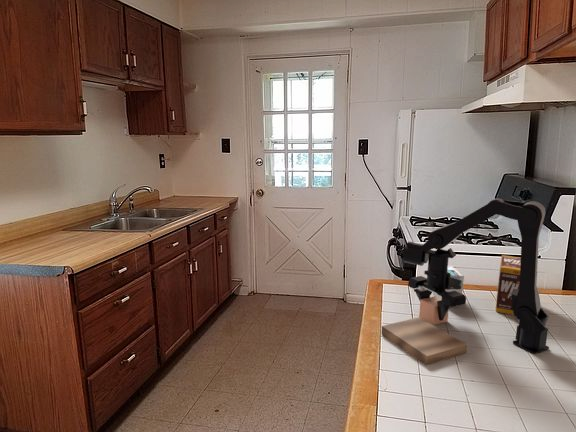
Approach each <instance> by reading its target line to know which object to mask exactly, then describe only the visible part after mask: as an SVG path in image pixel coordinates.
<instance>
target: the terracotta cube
mask: <svg viewBox="0 0 576 432" xmlns="http://www.w3.org/2000/svg"><path fill="white" fill-rule="evenodd" d="M437 301H441V299H439V298H437V297H436V296H435V295H433V296H430V297H429V298H425V299H421V300H419V302H420V303H419V312H418V313H419V315H418V317H419V318H421V319H423V320H425V321H427V322H428V323H430V324H432V325H434V326H435V325H438V324H443V323H446V322H448V319H449V312H450V308H449V309H448V311H447V313H446V315H445V317H444V319H443V320H441V321H440V320H439V315H438V306H437Z"/></svg>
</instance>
